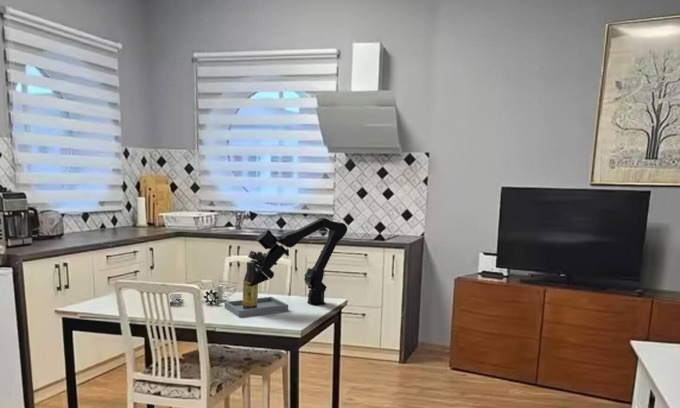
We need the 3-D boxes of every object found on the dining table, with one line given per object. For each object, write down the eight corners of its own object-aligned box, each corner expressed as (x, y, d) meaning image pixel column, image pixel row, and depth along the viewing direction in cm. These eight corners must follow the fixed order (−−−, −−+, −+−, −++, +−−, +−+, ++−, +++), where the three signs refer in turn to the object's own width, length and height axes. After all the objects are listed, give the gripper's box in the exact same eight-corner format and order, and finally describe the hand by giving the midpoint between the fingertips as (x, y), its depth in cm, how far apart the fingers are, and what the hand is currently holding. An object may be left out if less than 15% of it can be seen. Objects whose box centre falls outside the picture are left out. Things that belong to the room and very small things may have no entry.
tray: (271, 302, 228) (271, 296, 228) (288, 310, 214) (288, 304, 214) (224, 307, 216) (224, 301, 216) (238, 317, 202) (238, 310, 202)
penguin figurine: (163, 284, 219) (172, 281, 231) (162, 304, 219) (171, 300, 231) (177, 285, 219) (186, 282, 231) (176, 304, 219) (185, 300, 231)
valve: (213, 298, 233) (203, 304, 221) (213, 284, 233) (203, 289, 221) (227, 299, 233) (218, 305, 221) (227, 284, 232) (218, 290, 220)
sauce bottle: (239, 307, 213) (239, 261, 213) (251, 305, 218) (251, 259, 217) (249, 310, 209) (249, 263, 208) (260, 308, 214) (261, 261, 213)
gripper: (253, 241, 222) (228, 267, 218) (267, 246, 206) (240, 275, 201) (270, 258, 226) (246, 284, 222) (284, 264, 210) (259, 293, 205)
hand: (247, 283), depth 212 cm, fingers open, 9 cm apart
